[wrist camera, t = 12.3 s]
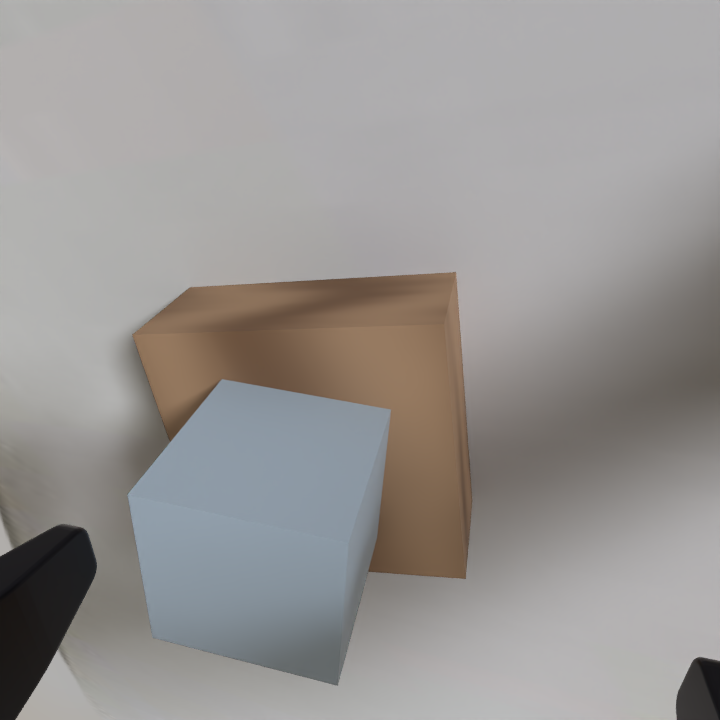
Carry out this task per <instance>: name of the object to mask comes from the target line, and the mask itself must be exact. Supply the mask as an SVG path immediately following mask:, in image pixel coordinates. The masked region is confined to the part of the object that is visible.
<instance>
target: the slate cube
mask: <svg viewBox="0 0 720 720" xmlns="http://www.w3.org/2000/svg"><path fill="white" fill-rule="evenodd" d="M390 414H391V410H390V409H385V408H379V407H374V406H368V405H363V404H357V403H352V402H346V401H340V400H335V399H329V398H324V397H318V396H313V395H307V394H302V393H296V392H290V391H285V390H279V389H274V388H268V387H263V386H257V385H252V384H246V383H241V382H235V381H229V380H224V379H222V380H221V381H220V382H219V383H218V385H217V386H216V387H215V388H214V389H213V391H212V392H211V393H210V394H209V396H208V397H207V398H206V399H205V400H204V402H203V403H202V404H201V405H200V407H199V408H198V409H197V410H196V411H195V413H194V414H193V415H192V416H191V418H190V419H189V420H188V421H187V422H186V424H185V425H184V426H183V427H182V428H181V430H180V431H179V432H178V433H177V435H176V436H175V437H174V438H173V439H172V441H171V442H170V443H169V444H168V446H167V447H166V448H165V449H164V450H163V452H162V453H161V454H160V455H159V457H158V458H157V459H156V460H155V461H154V463H153V464H152V465H151V466H150V468H149V469H148V470H147V471H146V472H145V474H144V475H143V476H142V477H141V479H140V480H139V481H138V482H137V483H136V485H135V486H134V487H133V488H132V490H131V491H130V492H129V493H128V494H127V495H128V501H129V506H130V512H131V518H132V523H133V529H134V535H135V540H136V546H137V552H138V557H139V563H140V569H141V574H142V580H143V586H144V591H145V597H146V603H147V609H148V614H149V620H150V626H151V631H152V637H153V638H156V639H160V640H164V641H167V642H171V643H175V644H179V645H183V646H187V647H191V648H194V649H198V650H202V651H206V652H210V653H214V654H218V655H221V656H225V657H229V658H233V659H237V660H241V661H245V662H249V663H252V664H256V665H260V666H264V667H268V668H272V669H276V670H279V671H283V672H287V673H291V674H295V675H299V676H303V677H306V678H310V679H314V680H318V681H322V682H326V683H330V684H333V685H337V686H338V683H339V679H340V675H341V671H342V667H343V664H344V660H345V656H346V652H347V649H348V645H349V641H350V637H351V634H352V630H353V626H354V622H355V619H356V615H357V611H358V607H359V604H360V600H361V596H362V592H363V589H364V585H365V581H366V577H367V574H368V570H369V566H370V562H371V559H372V555H373V551H374V547H375V543H376V540H377V533H378V524H379V515H380V506H381V497H382V487H383V478H384V469H385V460H386V451H387V442H388V433H389V424H390Z"/></svg>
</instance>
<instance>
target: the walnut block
mask: <svg viewBox="0 0 720 720" xmlns="http://www.w3.org/2000/svg"><path fill="white" fill-rule="evenodd" d="M133 338H134V341H135V344H136V347H137V350H138V352H139V355H140V358H141V361H142V364H143V367H144V369H145V372H146V375H147V378H148V381H149V384H150V386H151V389H152V392H153V395H154V398H155V401H156V403H157V406H158V409H159V412H160V415H161V418H162V421H163V423H164V426H165V429H166V432H167V435H168V438H169V440H170V442H171V441H172V439H173V438H174V437H175V436H176V435H177V433H178V432H179V431H180V430H181V428H182V427H183V426H184V425H185V424H186V422H187V421H188V420H189V419H190V418H191V416H192V415H193V414H194V413H195V411H196V410H197V409H198V408H199V407H200V405H201V404H202V403H203V402H204V400H205V399H206V398H207V397H208V396H209V394H210V393H211V392H212V391H213V389H214V388H215V387H216V386H217V385H218V383H219V382H220V381H221V380H222V379H224V380H229V381H235V382H241V383H246V384H252V385H257V386H263V387H268V388H274V389H279V390H285V391H290V392H296V393H302V394H307V395H313V396H318V397H324V398H329V399H335V400H340V401H346V402H352V403H357V404H363V405H368V406H374V407H379V408H385V409H390V410H391V414H390V424H389V433H388V442H387V451H386V460H385V469H384V478H383V487H382V497H381V506H380V515H379V524H378V533H377V540H376V543H375V547H374V551H373V555H372V559H371V562H370V566H369V570H368V572H381V573H394V574H408V575H421V576H435V577H448V578H461V579H466V568H467V557H468V545H469V533H470V522H471V510H472V491H471V477H470V463H469V449H468V434H467V420H466V406H465V392H464V378H463V364H462V350H461V335H460V321H459V307H458V293H457V279H456V272H453V273H435V274H418V275H400V276H383V277H365V278H348V279H330V280H313V281H295V282H277V283H260V284H242V285H225V286H207V287H190V288H189V289H188V290H186V291H185V292H184V293H183V294H181V295H180V296H179V297H178V298H177V299H175V300H174V301H173V302H172V303H171V304H169V305H168V306H167V307H166V308H164V309H163V310H162V311H161V312H160V313H158V314H157V315H156V316H155V317H153V318H152V319H151V320H150V321H149V322H147V323H146V324H145V325H144V326H143V327H141V328H140V329H139V330H138V331H136V332H135V333H134V334H133Z"/></svg>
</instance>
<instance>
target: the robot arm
mask: <svg viewBox="0 0 720 720" xmlns="http://www.w3.org/2000/svg"><path fill="white" fill-rule="evenodd" d="M96 569H97V562H96V558H95V555H94V552H93V548H92V545H91V542H90V539H89V535H88V533H87V531H86V530H85V529H83V528H81V527H76V526H71V525H66V524H62V525H57V526H55V527H53V528H51V529H49V530H47V531H46V532H44V533H42V534H40V535H38V536H37V537H35V538H33V539H31V540H29V541H27V542H26V543H24V544H22V545H20V546H18V547H17V548H15V549H13V550H11V551H9V552H7V553H6V554H4V555H2V556H0V720H15V719H16V718H17V716H18V715H19V713H20V712H21V710H22V708H23V707H24V705H25V704H26V702H27V700H28V699H29V697H30V696H31V694H32V692H33V691H34V689H35V688H36V686H37V685H38V683H39V681H40V680H41V678H42V676H43V674H44V673H45V671H46V670H47V668H48V666H49V664H50V663H51V661H52V659H53V657H54V655H55V653H56V651H57V650H58V648H59V646H60V644H61V642H62V640H63V638H64V636H65V634H66V632H67V630H68V628H69V626H70V624H71V622H72V620H73V618H74V616H75V614H76V612H77V610H78V609H79V607H80V605H81V603H82V601H83V599H84V597H85V595H86V593H87V591H88V589H89V587H90V585H91V583H92V581H93V579H94V577H95V574H96ZM676 715H677V720H720V661H717V660H712V659H708V658H703V657H698V658H696V659H694V660H693V662H692V663H691V666H690V668H689V670H688V672H687V674H686V676H685V678H684V680H683V682H682V685H681V687H680V689H679V691H678V694H677V700H676Z"/></svg>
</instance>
